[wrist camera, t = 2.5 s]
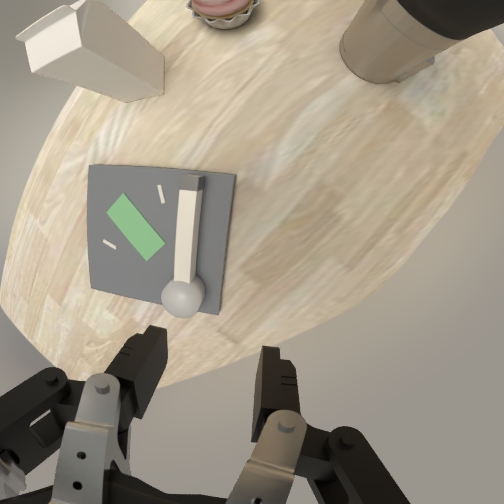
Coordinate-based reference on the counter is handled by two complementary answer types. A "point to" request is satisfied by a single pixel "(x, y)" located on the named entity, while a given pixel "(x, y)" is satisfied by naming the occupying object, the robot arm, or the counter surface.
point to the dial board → (153, 230)
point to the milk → (94, 52)
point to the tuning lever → (186, 252)
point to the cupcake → (222, 12)
